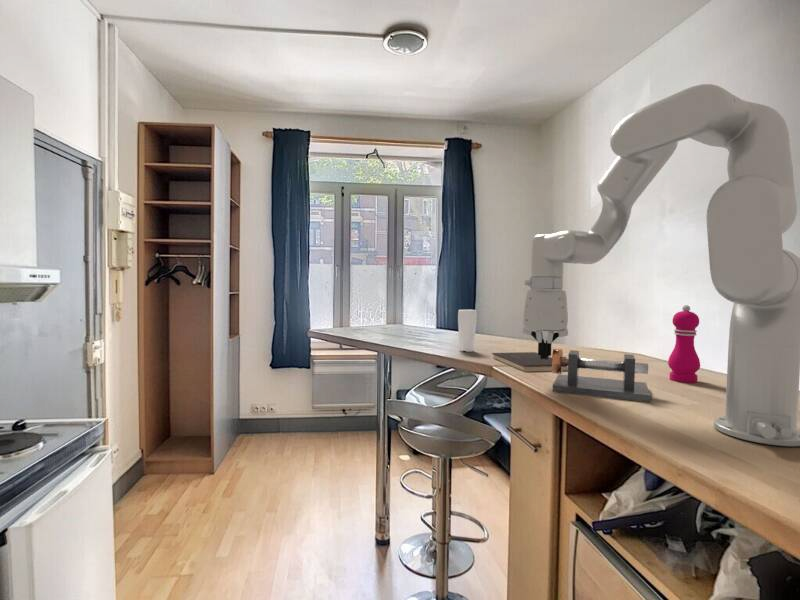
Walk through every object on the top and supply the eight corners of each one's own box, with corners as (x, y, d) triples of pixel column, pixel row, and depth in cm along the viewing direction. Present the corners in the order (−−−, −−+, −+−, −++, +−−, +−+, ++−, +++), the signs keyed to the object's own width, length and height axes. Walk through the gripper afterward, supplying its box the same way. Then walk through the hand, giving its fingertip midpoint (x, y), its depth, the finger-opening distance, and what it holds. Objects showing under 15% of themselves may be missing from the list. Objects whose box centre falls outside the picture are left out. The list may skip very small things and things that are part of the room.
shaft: (646, 379, 106) (647, 353, 105) (648, 384, 100) (649, 357, 100) (554, 370, 114) (554, 347, 114) (551, 375, 109) (552, 350, 108)
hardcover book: (523, 373, 128) (523, 365, 128) (491, 359, 151) (492, 352, 151) (574, 372, 131) (574, 364, 131) (536, 358, 154) (536, 352, 154)
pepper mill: (704, 384, 115) (708, 306, 115) (673, 382, 117) (676, 305, 116) (692, 378, 123) (695, 304, 122) (663, 376, 124) (666, 304, 123)
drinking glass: (454, 349, 167) (455, 309, 166) (470, 349, 169) (471, 309, 168) (462, 352, 161) (463, 310, 160) (479, 352, 163) (480, 310, 162)
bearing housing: (645, 388, 109) (646, 353, 109) (650, 402, 97) (652, 362, 96) (558, 379, 118) (559, 347, 117) (552, 391, 105) (553, 355, 104)
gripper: (513, 284, 111) (511, 358, 112) (578, 285, 105) (575, 363, 106) (518, 284, 118) (516, 354, 119) (579, 285, 112) (577, 358, 112)
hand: (544, 358), depth 112 cm, fingers closed
